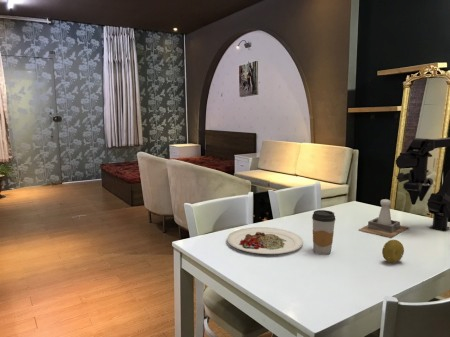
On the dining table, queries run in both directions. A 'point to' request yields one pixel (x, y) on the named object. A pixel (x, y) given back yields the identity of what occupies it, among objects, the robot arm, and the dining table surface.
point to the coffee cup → (323, 231)
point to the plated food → (265, 240)
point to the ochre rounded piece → (393, 251)
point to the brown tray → (383, 228)
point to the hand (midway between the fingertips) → (417, 202)
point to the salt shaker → (385, 212)
